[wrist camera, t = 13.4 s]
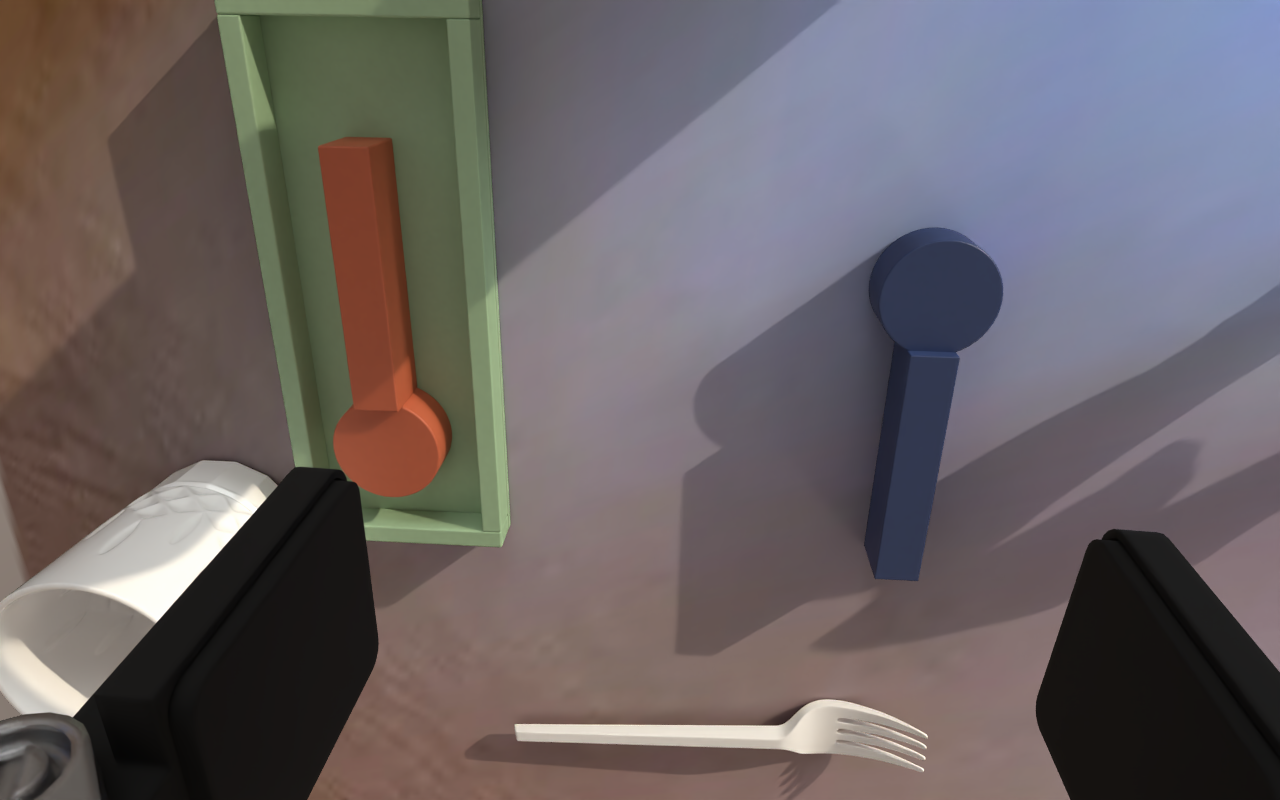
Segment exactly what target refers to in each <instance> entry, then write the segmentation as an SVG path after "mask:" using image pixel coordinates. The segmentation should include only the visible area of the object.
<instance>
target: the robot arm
mask: <svg viewBox="0 0 1280 800" xmlns="http://www.w3.org/2000/svg"><path fill="white" fill-rule="evenodd" d="M377 653H378V632H377V624H376V616H375V608H374V600H373V592H372V584H371V576H370V568H369V561H368V553H367V545H366V537H365V529H364V521H363V513H362V505H361V497H360V491H359V487H358V485H357V483H355V482H352V481H347V478H346V476H345V474H344V472H343V471H341V470H339V469H326V468H313V467H295V468H294V469H293V470H291V471H290V473H289V474H288V475H287V476H286V477H285V478H284V479H283V480H282V482H281V483H280V484H279V485H278V486H277V487H276V488H275V490H274V491H273V492H272V493H271V494H270V495H269V496H268V497H267V499H266V500H265V501H264V502H263V503H262V504H261V505H260V507H259V508H258V509H257V510H256V511H255V512H254V513H253V514H252V516H251V517H250V518H249V519H248V520H247V521H246V522H245V524H244V525H243V526H242V527H241V528H240V529H239V530H238V531H237V533H236V534H235V535H234V536H233V537H232V538H231V539H230V540H229V542H228V543H227V544H226V545H225V546H224V547H223V548H222V550H221V551H220V552H219V553H218V554H217V555H216V556H215V557H214V559H213V560H212V561H211V562H210V563H209V564H208V565H207V567H206V568H205V569H204V570H203V571H202V572H201V573H200V574H199V575H198V576H197V577H196V578H195V580H194V581H193V582H192V583H191V584H190V585H189V586H188V587H187V589H186V590H185V591H184V592H183V593H182V594H181V595H180V596H179V598H178V599H177V600H176V601H175V602H174V603H173V604H172V606H171V607H170V608H169V609H168V610H167V611H166V612H165V613H164V615H163V616H162V617H161V618H160V619H159V620H158V621H157V623H156V624H155V625H154V626H153V627H152V628H151V629H150V630H149V632H148V633H147V634H146V635H145V636H144V637H143V638H142V639H141V641H140V642H139V643H138V644H137V645H136V646H135V647H134V649H133V650H132V651H131V652H130V653H129V654H128V655H127V656H126V658H125V659H124V660H123V661H122V662H121V663H120V664H119V665H118V667H117V668H116V669H115V670H114V671H113V672H112V673H111V675H110V676H109V677H108V678H107V679H106V680H105V681H104V682H103V684H102V685H101V686H100V687H99V688H98V689H97V690H96V692H95V693H94V694H93V695H92V696H91V697H90V698H89V699H88V701H87V702H86V703H85V704H84V705H83V706H82V707H81V708H80V710H79V711H78V712H77V713H76V714H75V715H74V716H73V717H71V716H68V715H62V714H57V713H51V712H47V713H34V714H24V715H20V716H17V717H13V718H9V719H6V720H2V721H0V800H307V799H308V797H309V795H310V793H311V791H312V789H313V787H314V785H315V783H316V781H317V779H318V777H319V775H320V773H321V771H322V769H323V767H324V765H325V763H326V761H327V759H328V757H329V755H330V753H331V751H332V749H333V747H334V745H335V743H336V741H337V739H338V737H339V735H340V733H341V731H342V729H343V727H344V725H345V723H346V722H347V720H348V718H349V716H350V714H351V712H352V710H353V708H354V706H355V704H356V702H357V700H358V698H359V696H360V694H361V692H362V690H363V688H364V686H365V684H366V682H367V680H368V678H369V676H370V674H371V672H372V670H373V667H374V665H375V662H376V658H377ZM1036 717H1037V723H1038V726H1039V729H1040V732H1041V734H1042V736H1043V738H1044V741H1045V743H1046V745H1047V747H1048V750H1049V752H1050V754H1051V756H1052V759H1053V761H1054V763H1055V766H1056V768H1057V770H1058V772H1059V775H1060V777H1061V779H1062V781H1063V784H1064V786H1065V788H1066V791H1067V793H1068V795H1069V797H1070V800H1280V672H1279V671H1278V670H1277V668H1276V667H1275V666H1274V665H1273V664H1272V662H1271V661H1270V660H1269V659H1268V658H1267V656H1266V655H1265V654H1264V653H1263V652H1262V650H1261V649H1260V648H1259V647H1258V646H1257V644H1256V643H1255V642H1254V641H1253V640H1252V638H1251V637H1250V636H1249V635H1248V634H1247V632H1246V631H1245V630H1244V629H1243V628H1242V626H1241V625H1240V624H1239V623H1238V621H1237V620H1236V619H1235V618H1234V617H1233V615H1232V614H1231V613H1230V612H1229V611H1228V609H1227V608H1226V607H1225V606H1224V605H1223V603H1222V602H1221V601H1220V600H1219V599H1218V597H1217V596H1216V595H1215V594H1214V593H1213V591H1212V590H1211V589H1210V588H1209V587H1208V585H1207V584H1206V583H1205V582H1204V581H1203V579H1202V578H1201V577H1200V576H1199V574H1198V573H1197V572H1196V571H1195V570H1194V568H1193V567H1192V566H1191V565H1190V564H1189V562H1188V561H1187V560H1186V559H1185V558H1184V556H1183V555H1182V554H1181V553H1180V552H1179V550H1178V549H1177V548H1176V547H1175V546H1174V544H1173V543H1172V542H1171V541H1170V540H1169V538H1167V537H1166V536H1165V535H1164V534H1161V533H1157V532H1145V531H1132V530H1119V529H1112V530H1109V531H1107V533H1106V534H1105V535H1104V536H1103V538H1102V540H1098V539H1096V540H1093V541H1092V542H1091V543H1090V544H1089V545H1088V547H1087V550H1086V552H1085V555H1084V558H1083V561H1082V564H1081V567H1080V570H1079V573H1078V576H1077V579H1076V582H1075V585H1074V588H1073V591H1072V594H1071V597H1070V600H1069V603H1068V606H1067V609H1066V612H1065V615H1064V618H1063V621H1062V624H1061V627H1060V630H1059V633H1058V636H1057V639H1056V642H1055V645H1054V648H1053V651H1052V654H1051V657H1050V660H1049V663H1048V666H1047V669H1046V672H1045V675H1044V678H1043V681H1042V684H1041V687H1040V690H1039V693H1038V696H1037V701H1036Z"/></svg>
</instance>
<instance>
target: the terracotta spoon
mask: <svg viewBox="0 0 1280 800" xmlns="http://www.w3.org/2000/svg"><path fill="white" fill-rule="evenodd" d="M318 153H319V160H320V167H321V174H322V182H323V189H324V196H325V203H326V211H327V218H328V225H329V232H330V239H331V247H332V254H333V261H334V268H335V276H336V283H337V290H338V297H339V305H340V312H341V319H342V326H343V334H344V341H345V348H346V355H347V363H348V370H349V377H350V384H351V391H352V399H353V405H352V406H351V407H350V408H349V409H348V410H347V411H346V413H345V414H344V415H343V416H342V417H341V418H340V420H339V422H338V423H337V425H336V428H335V431H334V435H333V448H334V453H335V456H336V459H337V462H338V464H339V465H340V467H341V469H342V470H343V472H344V473H345V474H346V475H347V476H348V478H350V479H351V480H352V481H353V482H355V483H357V485H358V486H359V487H361V488H363V489H364V490H366V491H369V492H371V493H373V494H376V495H380V496H385V497H404V496H408V495H412V494H414V493H417V492H419V491H420V490H422V489H424V488H425V487H426V486H427V485H428V484H429V483H430V482H431V481H432V480H433V478H434V477H435V475H436V474H437V472H438V470H439V468H440V467H441V465H442V463H443V462H444V460H445V458H446V456H447V454H448V452H449V450H450V447H451V443H452V429H451V424H450V421H449V419H448V416H447V414H446V412H445V411H444V409H443V408H442V406H441V405H440V404H439V403H438V402H437V401H436V400H435V399H434V398H433V397H432V396H431V395H429V394H428V393H426V392H425V391H423V390H421V389H419V388H417V379H416V369H415V359H414V349H413V340H412V330H411V320H410V310H409V301H408V291H407V281H406V271H405V262H404V252H403V242H402V232H401V223H400V213H399V203H398V193H397V184H396V174H395V164H394V154H393V145H392V139H391V138H378V137H343V138H340V139H337V140H334V141H331V142H328V143H325V144H322V145H320V146H318Z"/></svg>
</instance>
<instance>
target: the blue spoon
mask: <svg viewBox="0 0 1280 800" xmlns="http://www.w3.org/2000/svg"><path fill="white" fill-rule="evenodd" d="M869 297H870V302H871V305H872V308H873V310H874V312H875V314H876V316H877V318H878V319H879V321H880V323H881V324H882V326H883V327H884V329H885V331H886V332H887V334H888V335H889V336H890V338H891V339H892V340H893V341H894V342H895V344H894V351H893V357H892V364H891V370H890V377H889V384H888V390H887V397H886V403H885V410H884V417H883V423H882V430H881V436H880V443H879V450H878V456H877V463H876V469H875V476H874V483H873V489H872V496H871V503H870V509H869V516H868V522H867V529H866V536H865V542H864V546H865V549H866V552H867V556H868V559H869V562H870V565H871V568H872V571H873V574H874V578H875V579H889V580H908V581H918V578H919V573H920V568H921V562H922V557H923V552H924V546H925V541H926V536H927V530H928V525H929V520H930V514H931V509H932V504H933V498H934V493H935V488H936V482H937V477H938V471H939V466H940V461H941V455H942V450H943V445H944V439H945V434H946V429H947V423H948V418H949V413H950V407H951V402H952V397H953V391H954V386H955V380H956V375H957V370H958V364H959V359H960V358H959V356H958V355H957V354H956V352H957V351H960V350H962V349H964V348H966V347H968V346H970V345H971V344H973V343H974V342H976V341H977V340H978V339H980V338H981V337H982V336H983V335H984V334H985V333H986V332H987V331H988V329H989V328H990V327H991V325H992V324H993V322H994V321H995V319H996V317H997V315H998V313H999V310H1000V307H1001V303H1002V298H1003V283H1002V278H1001V275H1000V272H999V270H998V267H997V265H996V264H995V262H994V261H993V260H992V258H991V257H990V256H989V255H988V254H987V253H986V252H984V251H983V250H982V249H981V248H979V247H978V246H977V245H976V244H974V243H973V242H972V241H971V240H969V239H968V238H967V237H966V236H964V235H962V234H960V233H958V232H956V231H953V230H949V229H945V228H925V229H920V230H916V231H913V232H911V233H908V234H906V235H904V236H902V237H901V238H899V239H897V240H896V241H895V242H893V243H892V244H891V245H890V246H889V247H888V248H887V249H886V250H885V251H884V252H883V253H882V254H881V256H880V257H879V259H878V260H877V262H876V264H875V266H874V268H873V271H872V274H871V278H870V283H869Z"/></svg>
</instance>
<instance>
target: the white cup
mask: <svg viewBox="0 0 1280 800" xmlns="http://www.w3.org/2000/svg"><path fill="white" fill-rule="evenodd" d="M277 486H278V485H277V484H276V483H275V482H274V481H273V480H272V479H271V478H270V477H268V476H267V475H265V474H263V473H260V472H258V471H256V470H254V469H251V468H249V467H247V466H244V465H242V464H240V463H238V462H232V461H210V460H202V461H199V462H197V463H195V464H192V465H190V466H188V467H185V468H183V469H181V470H178V471H176V472H174V473H173V474H172V475H170V476H169V477H168V478H166V479H165V480H164V481H163V482H161V483H160V484H159V485H158V486H156V487H155V488H154V489H152V490H151V491H150V492H148V493H146V494H144V495H143V496H141V497H139V498H138V499H136V500H135V501H133V502H132V503H130V504H129V505H128V506H126V507H125V508H124V509H122V510H121V511H120V512H119V513H118V514H116V515H114V516H113V517H111V518H110V519H108V520H107V521H106V522H104V523H103V524H101V525H100V526H99V527H97V528H96V529H95V530H93V531H92V532H91V533H89V534H88V535H87V536H85V537H84V538H83V539H82V540H80V541H79V542H78V543H76V544H75V545H74V546H72V547H71V548H70V549H69V550H67V551H66V552H65V553H63V554H62V555H61V556H59V557H58V558H57V559H56V560H54V561H53V562H52V563H50V564H49V565H48V566H46V567H45V568H44V569H42V570H41V571H40V572H39V573H37V574H36V575H35V576H33V577H32V578H31V579H29V580H28V581H27V582H25V583H24V584H23V585H21V586H20V587H19V588H17V589H16V590H15V591H14V592H12V593H11V594H9V595H8V596H7V597H5V598H4V599H3V600H2V601H1V602H0V692H1V693H2V695H3V696H4V697H5V698H6V700H7V701H8V702H9V703H10V704H11V705H12V706H13V707H14V708H15V709H16V710H17V711H18V712H19V713H20V714H21V715H24V714H34V713H47V712H51V713H57V714H62V715H68V716H71V717H73V716H74V715H75V714H76V713H77V712H78V711H79V710H80V708H81V707H82V706H83V705H84V704H85V703H86V702H87V701H88V699H89V698H90V697H91V696H92V695H93V694H94V693H95V692H96V690H97V689H98V688H99V687H100V686H101V685H102V684H103V682H104V681H105V680H106V679H107V678H108V677H109V676H110V675H111V673H112V672H113V671H114V670H115V669H116V668H117V667H118V665H119V664H120V663H121V662H122V661H123V660H124V659H125V658H126V656H127V655H128V654H129V653H130V652H131V651H132V650H133V649H134V647H135V646H136V645H137V644H138V643H139V642H140V641H141V639H142V638H143V637H144V636H145V635H146V634H147V633H148V632H149V630H150V629H151V628H152V627H153V626H154V625H155V624H156V623H157V621H158V620H159V619H160V618H161V617H162V616H163V615H164V613H165V612H166V611H167V610H168V609H169V608H170V607H171V606H172V604H173V603H174V602H175V601H176V600H177V599H178V598H179V596H180V595H181V594H182V593H183V592H184V591H185V590H186V589H187V587H188V586H189V585H190V584H191V583H192V582H193V581H194V580H195V578H196V577H197V576H198V575H199V574H200V573H201V572H202V571H203V570H204V569H205V568H206V567H207V565H208V564H209V563H210V562H211V561H212V560H213V559H214V557H215V556H216V555H217V554H218V553H219V552H220V551H221V550H222V548H223V547H224V546H225V545H226V544H227V543H228V542H229V540H230V539H231V538H232V537H233V536H234V535H235V534H236V533H237V531H238V530H239V529H240V528H241V527H242V526H243V525H244V524H245V522H246V521H247V520H248V519H249V518H250V517H251V516H252V514H253V513H254V512H255V511H256V510H257V509H258V508H259V507H260V505H261V504H262V503H263V502H264V501H265V500H266V499H267V497H268V496H269V495H270V494H271V493H272V492H273V491H274V490H275V488H276V487H277Z"/></svg>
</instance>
